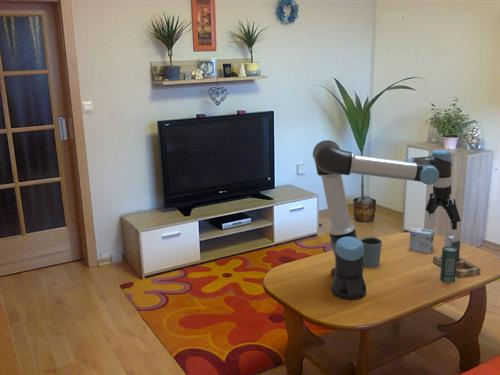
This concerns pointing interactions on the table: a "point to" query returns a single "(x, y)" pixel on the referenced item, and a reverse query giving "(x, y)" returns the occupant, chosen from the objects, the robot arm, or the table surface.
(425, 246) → the light bulb box
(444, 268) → the can
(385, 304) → the table surface
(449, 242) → the grey post
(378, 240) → the grey cup
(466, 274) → the rectangular frame
